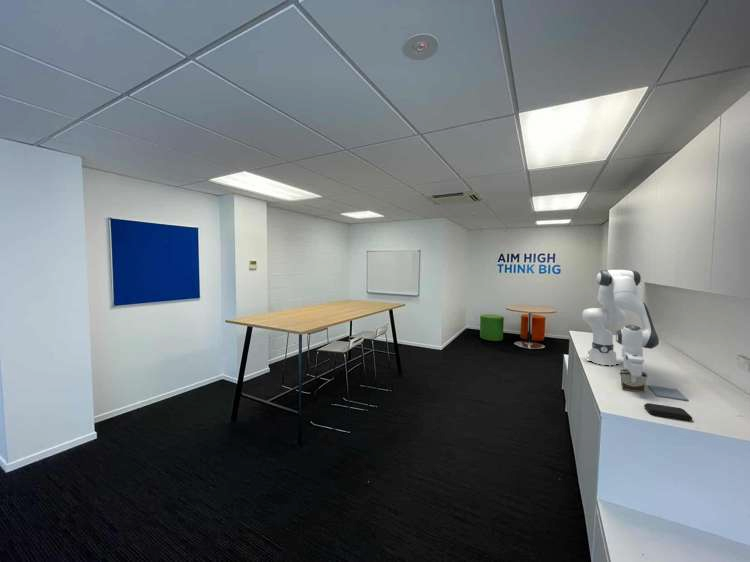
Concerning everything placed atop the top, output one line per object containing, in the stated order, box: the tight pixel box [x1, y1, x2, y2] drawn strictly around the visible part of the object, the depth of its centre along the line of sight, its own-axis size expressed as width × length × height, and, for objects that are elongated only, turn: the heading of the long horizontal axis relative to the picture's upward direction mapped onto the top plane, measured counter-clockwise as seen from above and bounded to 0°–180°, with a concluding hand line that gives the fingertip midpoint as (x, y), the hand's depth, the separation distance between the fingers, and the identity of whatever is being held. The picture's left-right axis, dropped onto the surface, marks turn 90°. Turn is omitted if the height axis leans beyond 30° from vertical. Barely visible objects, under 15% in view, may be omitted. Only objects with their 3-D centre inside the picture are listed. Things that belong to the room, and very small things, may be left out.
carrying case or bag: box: [643, 402, 693, 422], centre depth 136 cm, size 11×3×15 cm
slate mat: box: [647, 384, 690, 402], centre depth 158 cm, size 15×12×1 cm
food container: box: [618, 368, 649, 393], centre depth 164 cm, size 12×6×10 cm, turn 66°
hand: (631, 379), depth 164 cm, fingers closed on food container, 5 cm apart
